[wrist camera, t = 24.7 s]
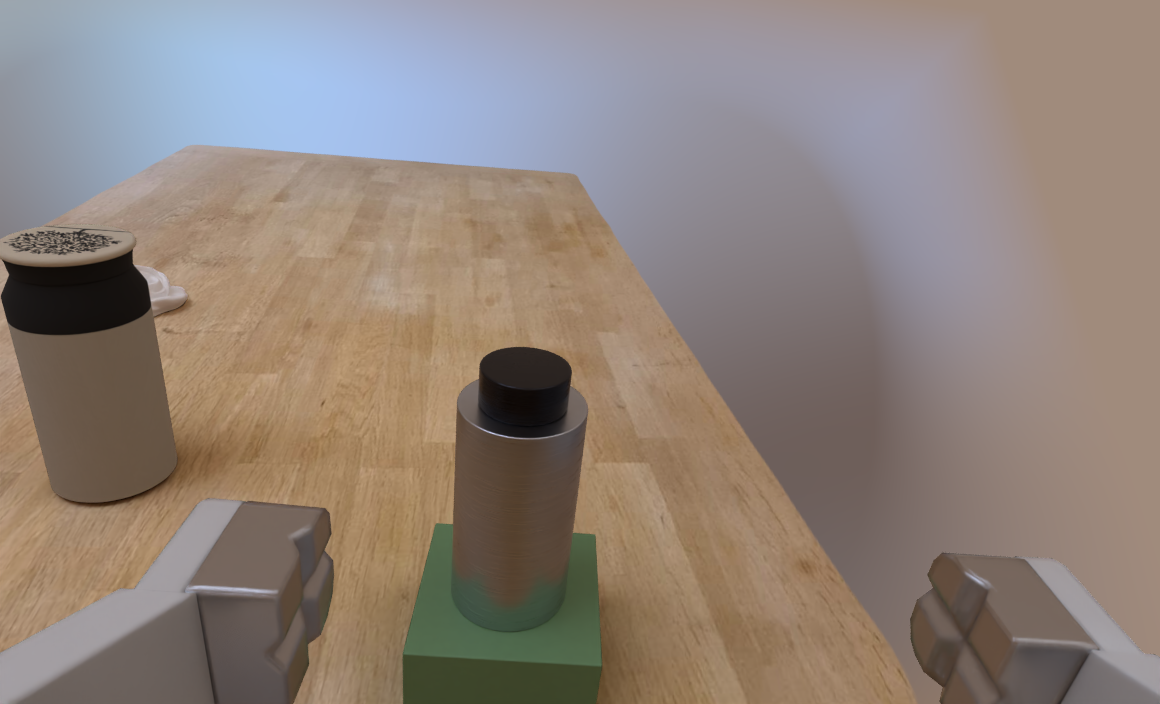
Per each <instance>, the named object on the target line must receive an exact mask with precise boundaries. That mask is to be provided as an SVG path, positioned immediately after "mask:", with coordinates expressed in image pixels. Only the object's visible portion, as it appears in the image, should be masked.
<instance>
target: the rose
mask: <svg viewBox="0 0 1160 704" xmlns="http://www.w3.org/2000/svg"><path fill="white" fill-rule="evenodd" d="M134 266H135V267H136V268H137V269H138V270H139V272H140V273H141V274H142V275H143V276H144V278H145V279H146V280H147V282H148V287H149V293H150V299H151V305H152V311H153V317H154V316H157V315H159V314H161V313H164V312H167V311H170V310H173V309H176V308H178V307H180V306H181V305H183V304H184V303H185V301H186V300H187V298H188V295H187V294H186V292H185V290H184V289H183V288H182V287H180V286H170V282H169V280H168V278H167V277H166V276H165V275H164V274H163V273H162V272H158V271H156V270H155V269H153V268H151V267H147V266H139V265H134Z"/></svg>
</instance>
